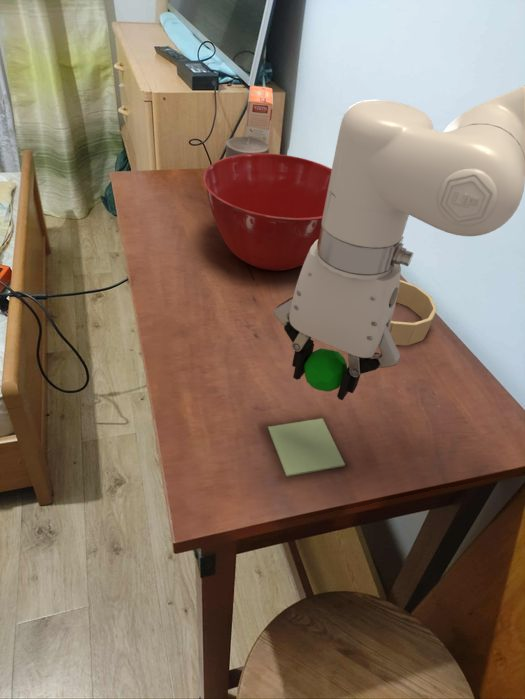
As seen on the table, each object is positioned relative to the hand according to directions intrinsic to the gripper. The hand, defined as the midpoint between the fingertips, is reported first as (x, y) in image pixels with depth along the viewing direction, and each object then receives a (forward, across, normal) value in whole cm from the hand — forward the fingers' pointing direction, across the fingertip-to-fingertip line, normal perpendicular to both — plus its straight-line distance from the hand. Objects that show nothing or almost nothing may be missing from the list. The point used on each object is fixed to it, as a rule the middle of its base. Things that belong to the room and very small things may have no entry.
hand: (322, 381), depth 60 cm
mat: (+12, 0, 0) cm, 12 cm away
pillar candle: (+12, +45, -58) cm, 74 cm away
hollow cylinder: (+12, 0, -34) cm, 36 cm away
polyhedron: (+1, 0, 0) cm, 1 cm away
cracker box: (+12, +50, -70) cm, 87 cm away
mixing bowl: (+12, +28, -41) cm, 51 cm away
